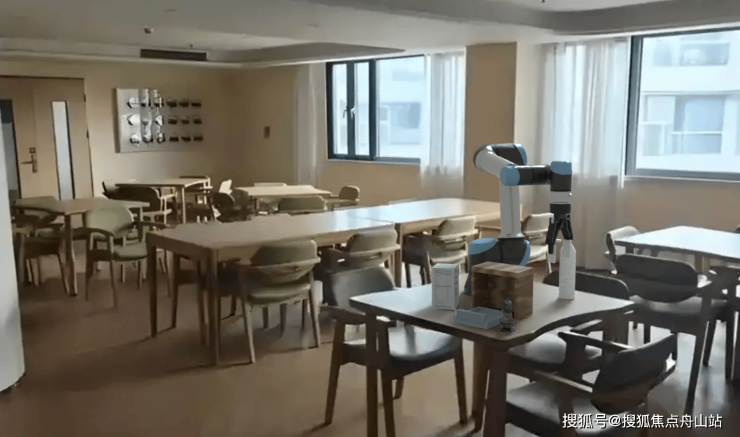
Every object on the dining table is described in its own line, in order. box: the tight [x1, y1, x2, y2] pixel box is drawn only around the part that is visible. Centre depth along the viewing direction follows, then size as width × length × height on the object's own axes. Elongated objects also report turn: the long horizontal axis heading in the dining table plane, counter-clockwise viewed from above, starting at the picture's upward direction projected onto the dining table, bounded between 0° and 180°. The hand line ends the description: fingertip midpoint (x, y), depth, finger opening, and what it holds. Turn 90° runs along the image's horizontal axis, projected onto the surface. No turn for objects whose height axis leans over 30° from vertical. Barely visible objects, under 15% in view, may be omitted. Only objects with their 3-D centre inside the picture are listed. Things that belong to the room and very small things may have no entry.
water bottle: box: [555, 238, 577, 301], centre depth 274 cm, size 9×6×25 cm
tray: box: [453, 306, 503, 330], centre depth 243 cm, size 14×17×5 cm
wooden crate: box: [470, 262, 535, 322], centre depth 253 cm, size 20×12×18 cm, turn 49°
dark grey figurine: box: [499, 297, 517, 334], centre depth 231 cm, size 6×6×12 cm
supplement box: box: [431, 262, 460, 311], centre depth 263 cm, size 10×9×17 cm
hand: (559, 259), depth 244 cm, fingers open, 13 cm apart
